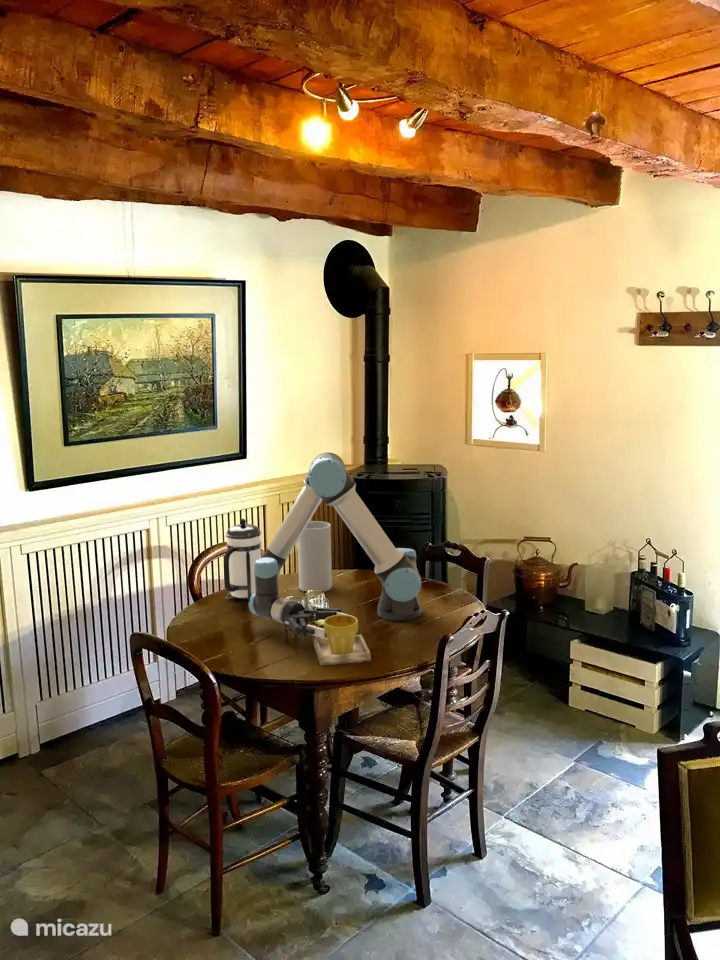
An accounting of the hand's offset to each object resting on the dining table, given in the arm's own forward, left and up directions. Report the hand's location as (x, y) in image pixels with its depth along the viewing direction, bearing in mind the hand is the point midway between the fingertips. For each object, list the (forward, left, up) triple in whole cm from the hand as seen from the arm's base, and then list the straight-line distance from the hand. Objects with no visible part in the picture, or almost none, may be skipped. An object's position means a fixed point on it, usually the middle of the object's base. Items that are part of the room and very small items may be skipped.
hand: (339, 627), depth 234 cm
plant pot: (-1, 0, -8) cm, 8 cm away
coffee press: (+26, -58, -9) cm, 64 cm away
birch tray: (-1, 0, -8) cm, 8 cm away
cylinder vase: (-1, -64, -9) cm, 64 cm away
